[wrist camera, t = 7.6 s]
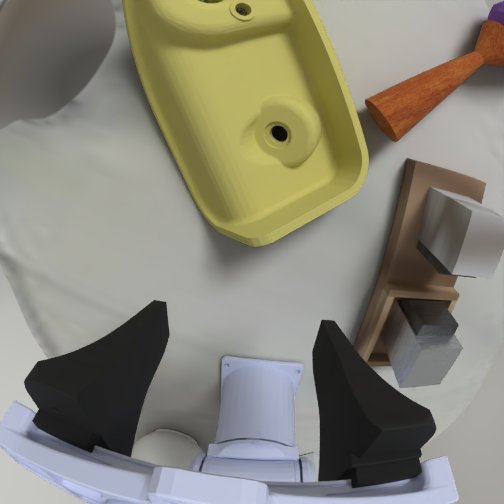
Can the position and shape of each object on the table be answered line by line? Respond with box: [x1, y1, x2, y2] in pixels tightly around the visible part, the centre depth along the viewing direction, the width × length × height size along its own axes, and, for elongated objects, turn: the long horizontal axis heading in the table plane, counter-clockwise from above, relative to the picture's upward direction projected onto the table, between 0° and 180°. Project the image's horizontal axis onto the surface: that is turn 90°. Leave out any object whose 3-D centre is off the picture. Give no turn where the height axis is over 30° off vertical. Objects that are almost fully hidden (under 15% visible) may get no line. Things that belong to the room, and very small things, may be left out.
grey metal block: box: [381, 298, 463, 388], centre depth 20 cm, size 5×4×6 cm
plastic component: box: [122, 0, 369, 247], centre depth 15 cm, size 20×7×10 cm
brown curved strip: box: [131, 429, 204, 469], centre depth 32 cm, size 13×13×11 cm
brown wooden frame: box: [353, 158, 504, 366], centre depth 19 cm, size 18×7×7 cm, turn 175°
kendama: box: [365, 1, 504, 142], centre depth 12 cm, size 6×6×20 cm
